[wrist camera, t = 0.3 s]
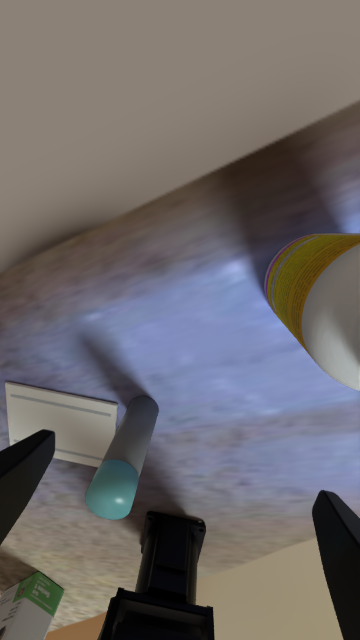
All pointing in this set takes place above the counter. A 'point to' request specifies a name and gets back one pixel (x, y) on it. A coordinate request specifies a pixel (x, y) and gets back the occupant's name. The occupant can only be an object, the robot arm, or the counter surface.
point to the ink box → (29, 608)
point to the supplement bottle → (321, 299)
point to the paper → (62, 421)
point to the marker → (123, 462)
